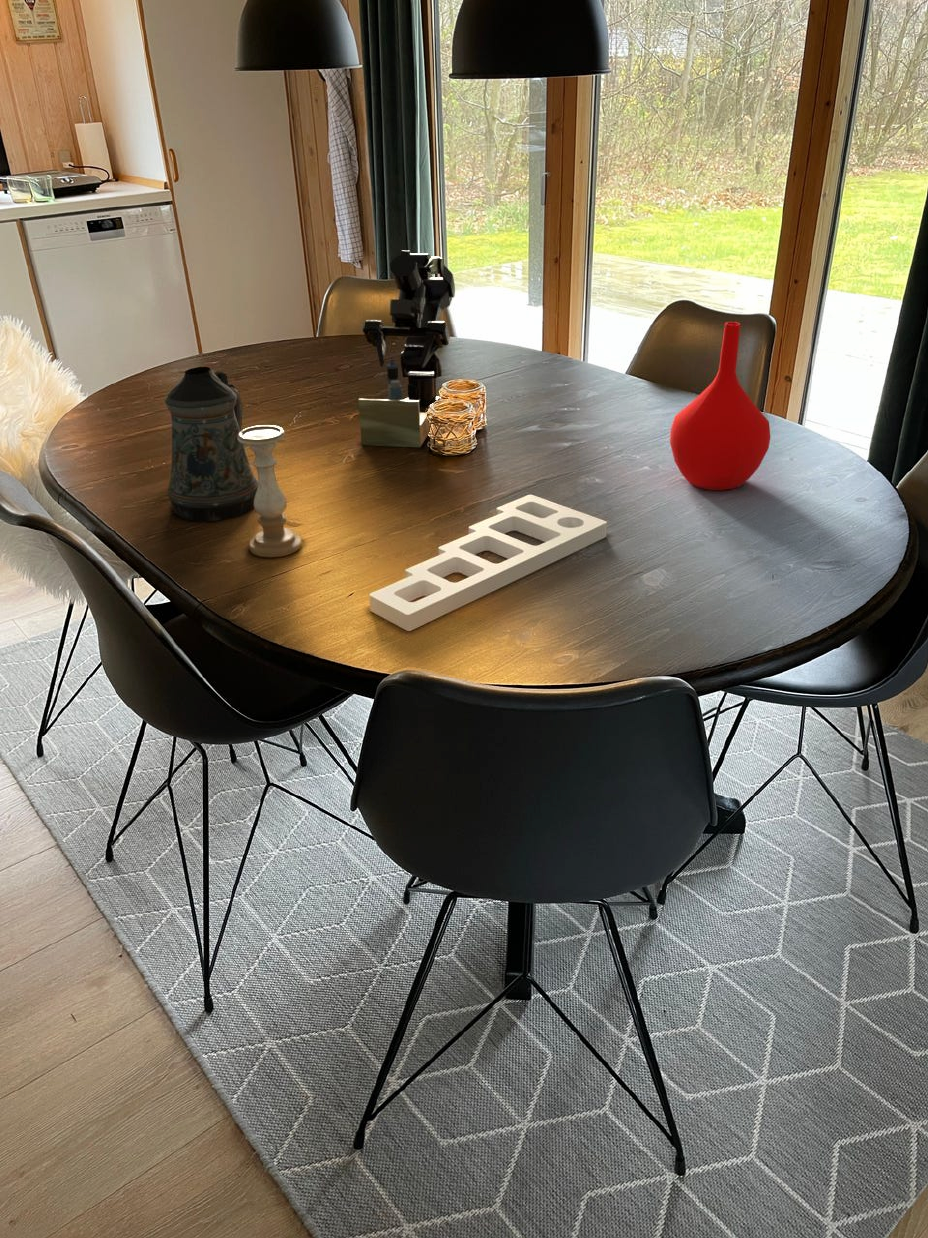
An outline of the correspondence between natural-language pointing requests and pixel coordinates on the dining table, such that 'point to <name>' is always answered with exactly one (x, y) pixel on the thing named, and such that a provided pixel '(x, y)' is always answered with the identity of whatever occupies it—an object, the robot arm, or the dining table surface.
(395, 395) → the vaping device
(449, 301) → the robot arm
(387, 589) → the holder
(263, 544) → the candle holder
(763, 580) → the dining table surface
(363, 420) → the glossy olive-green box
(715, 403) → the vase
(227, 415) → the beer stein
